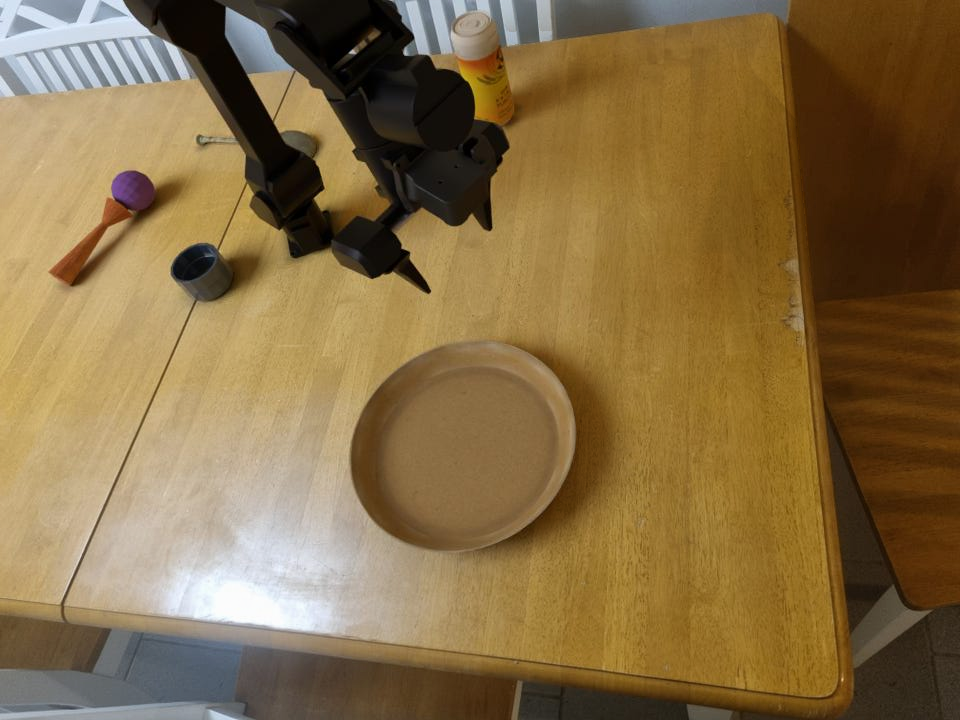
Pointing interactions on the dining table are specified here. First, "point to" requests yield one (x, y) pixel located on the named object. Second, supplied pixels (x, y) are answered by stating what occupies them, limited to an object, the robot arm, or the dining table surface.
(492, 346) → the plant saucer
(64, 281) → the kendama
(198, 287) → the bowl
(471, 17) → the beer can
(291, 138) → the soupspoon
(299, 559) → the dining table surface
